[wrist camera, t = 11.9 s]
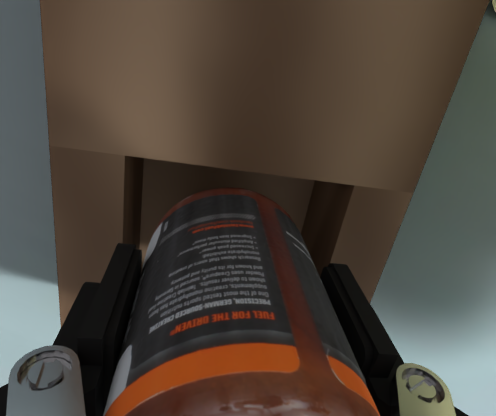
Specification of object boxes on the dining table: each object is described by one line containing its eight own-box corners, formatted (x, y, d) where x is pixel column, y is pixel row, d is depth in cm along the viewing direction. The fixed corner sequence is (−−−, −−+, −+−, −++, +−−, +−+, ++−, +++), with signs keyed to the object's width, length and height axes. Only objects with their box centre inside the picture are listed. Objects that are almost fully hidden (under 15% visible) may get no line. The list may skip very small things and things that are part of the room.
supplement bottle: (116, 243, 14) (-128, 808, 4) (239, 148, 13) (349, 608, 3) (216, 330, 16) (226, 817, 6) (327, 257, 15) (560, 714, 5)
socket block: (499, -291, 11) (686, -498, 7) (311, 310, 21) (337, 384, 17) (91, -439, 9) (-16, -854, 5) (97, 294, 20) (64, 373, 15)
